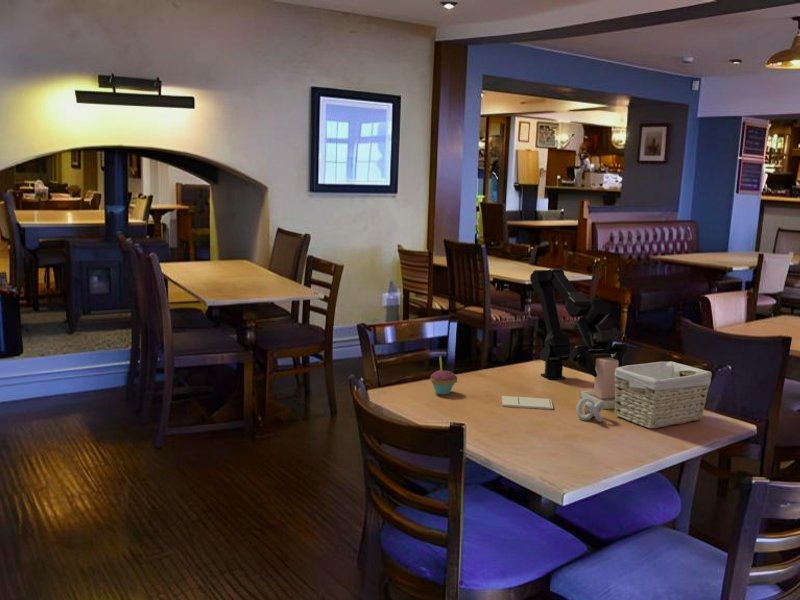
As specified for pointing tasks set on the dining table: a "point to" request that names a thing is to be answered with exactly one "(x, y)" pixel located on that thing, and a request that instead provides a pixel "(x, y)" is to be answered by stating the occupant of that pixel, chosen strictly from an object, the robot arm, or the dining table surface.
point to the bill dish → (590, 395)
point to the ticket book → (526, 402)
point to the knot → (589, 406)
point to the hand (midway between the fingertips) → (608, 375)
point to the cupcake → (443, 380)
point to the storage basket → (660, 393)
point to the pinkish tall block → (605, 379)
